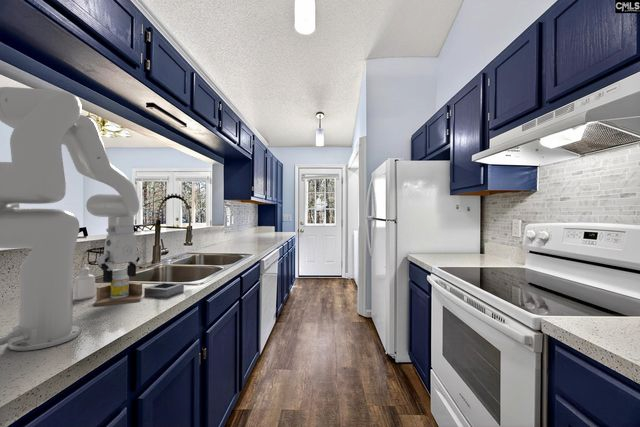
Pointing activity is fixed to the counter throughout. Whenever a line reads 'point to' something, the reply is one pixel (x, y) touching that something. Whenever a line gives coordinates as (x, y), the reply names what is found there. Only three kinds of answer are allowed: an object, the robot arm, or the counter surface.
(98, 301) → the v block
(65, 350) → the counter surface
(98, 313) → the counter surface
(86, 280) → the eye dropper bottle
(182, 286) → the socket block
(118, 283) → the supplement bottle
